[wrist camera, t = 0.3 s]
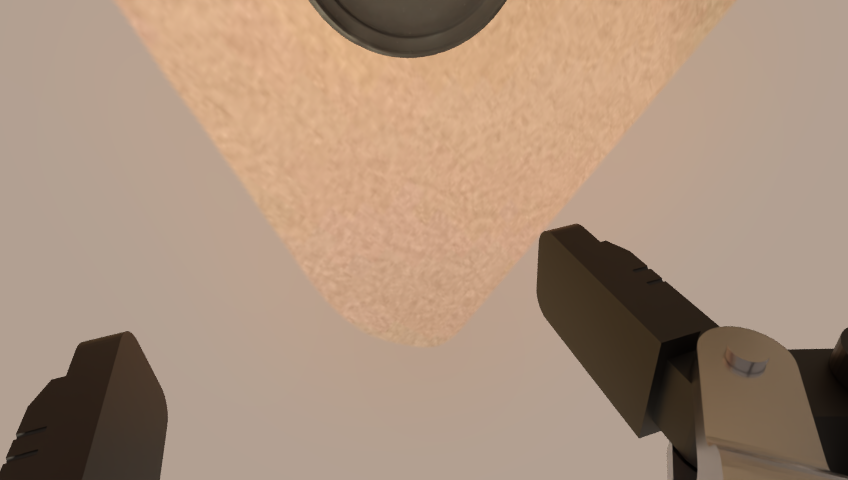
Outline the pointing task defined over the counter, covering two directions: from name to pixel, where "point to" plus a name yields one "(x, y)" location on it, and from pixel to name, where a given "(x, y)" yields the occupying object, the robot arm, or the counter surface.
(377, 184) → the counter surface
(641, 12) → the counter surface
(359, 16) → the coffee can
